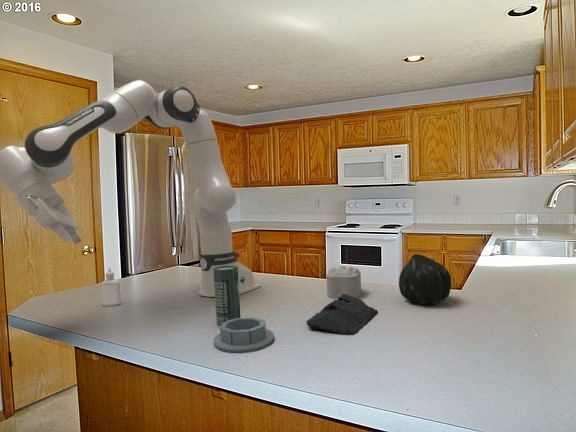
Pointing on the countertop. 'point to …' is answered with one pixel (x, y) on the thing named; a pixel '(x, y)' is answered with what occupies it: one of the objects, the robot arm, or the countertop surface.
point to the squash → (424, 280)
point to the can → (226, 293)
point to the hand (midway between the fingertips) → (74, 241)
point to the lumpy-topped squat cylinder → (343, 282)
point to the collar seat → (243, 335)
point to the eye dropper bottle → (110, 290)
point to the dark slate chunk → (343, 316)
